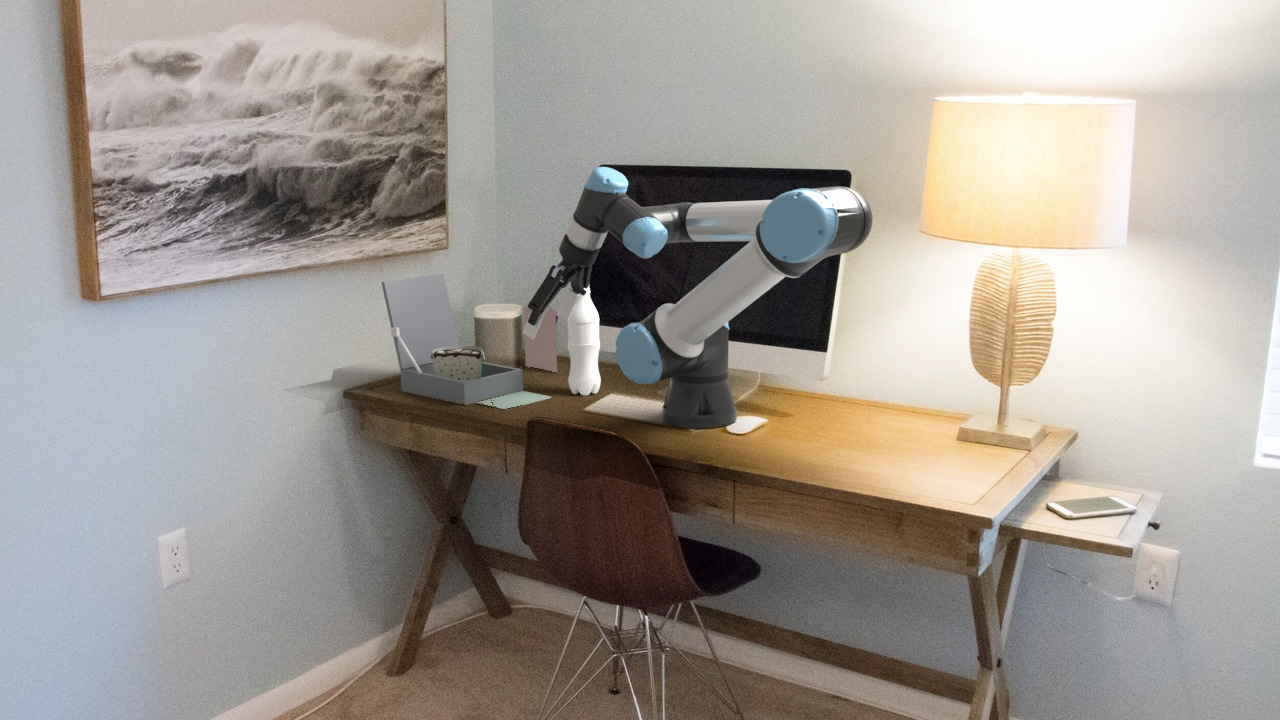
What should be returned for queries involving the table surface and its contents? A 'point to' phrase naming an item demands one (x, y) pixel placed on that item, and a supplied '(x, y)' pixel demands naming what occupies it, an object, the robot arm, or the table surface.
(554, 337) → the greeting card
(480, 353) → the food container
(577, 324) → the water bottle
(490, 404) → the mat
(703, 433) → the table surface
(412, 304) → the case
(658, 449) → the table surface
